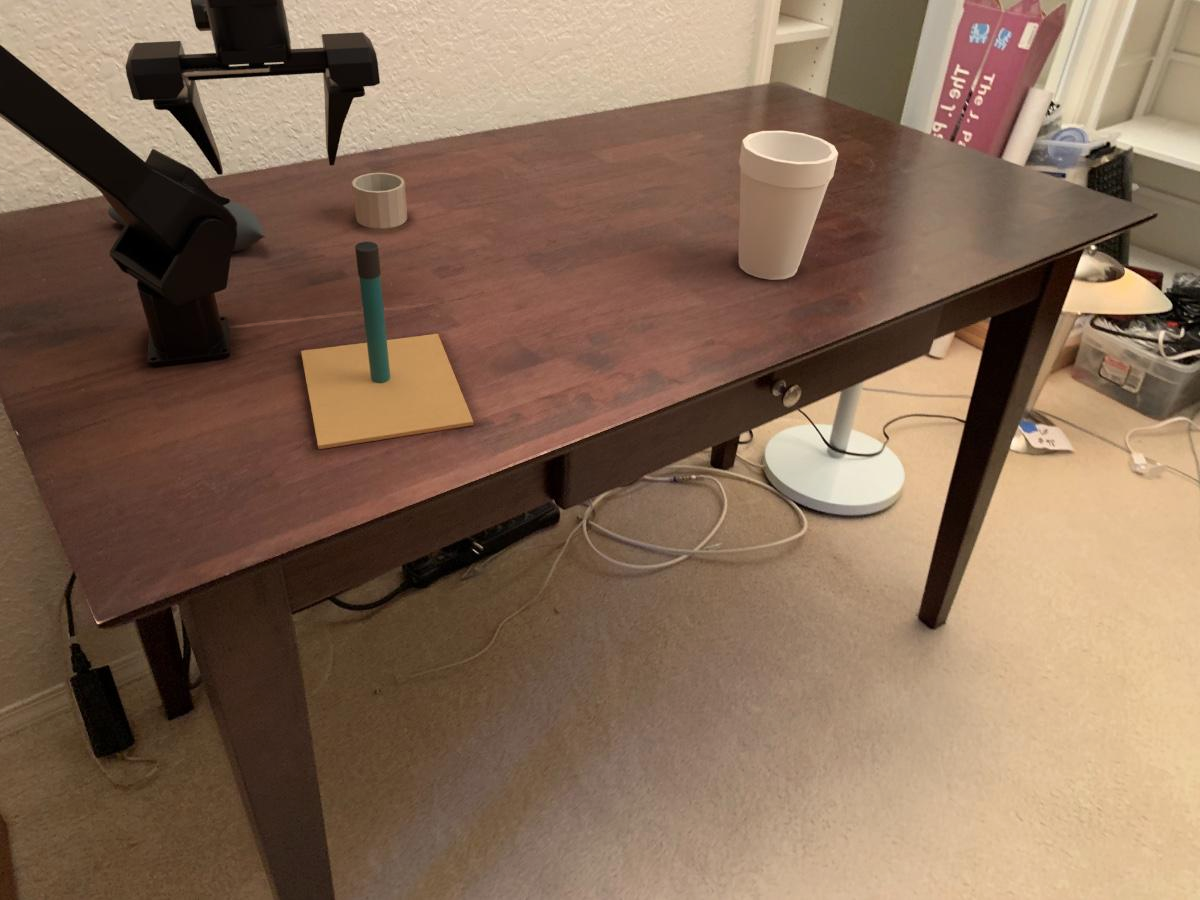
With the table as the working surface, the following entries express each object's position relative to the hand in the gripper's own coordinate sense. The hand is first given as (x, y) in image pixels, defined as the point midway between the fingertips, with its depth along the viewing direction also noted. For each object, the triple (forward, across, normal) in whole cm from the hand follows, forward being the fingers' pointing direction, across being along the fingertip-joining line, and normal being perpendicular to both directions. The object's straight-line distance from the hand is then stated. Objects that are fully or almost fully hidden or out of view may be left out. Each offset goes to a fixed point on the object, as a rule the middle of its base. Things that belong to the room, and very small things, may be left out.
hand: (276, 168), depth 79 cm
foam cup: (+14, -48, +2) cm, 50 cm away
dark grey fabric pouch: (+13, +10, -15) cm, 23 cm away
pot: (+14, -10, -17) cm, 23 cm away
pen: (+12, -6, +16) cm, 21 cm away
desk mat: (+13, -6, +16) cm, 22 cm away
